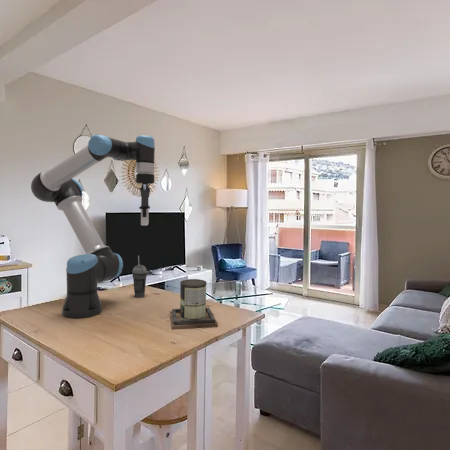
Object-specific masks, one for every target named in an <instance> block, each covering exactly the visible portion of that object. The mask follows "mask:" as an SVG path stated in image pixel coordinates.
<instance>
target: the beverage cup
mask: <svg viewBox="0 0 450 450" xmlns="http://www.w3.org/2000/svg"><path fill="white" fill-rule="evenodd" d="M137 260H138V262H137V263H138V264H137V265H135V266H134V267H133V269H132V272H131V274H132V278H133V291H134V292H133V293H134V297H135V298H144V297H145V293H146V282H147V276H148V270H147V267H146V266H145V265H143V264H140V255H137Z"/></svg>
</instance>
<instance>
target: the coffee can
mask: <svg viewBox="0 0 450 450" xmlns="http://www.w3.org/2000/svg"><path fill="white" fill-rule="evenodd" d="M179 285H180V286H179V287H180V295H179V296H180V297H179V298H180V302H179V303H180V305H179V306H180V307H179V309H180V318H181V319H182V320H201V319H205V318H206V308H207V281H206V280H204V279H199V278H190V279H183V280H181V281H180V282H179Z"/></svg>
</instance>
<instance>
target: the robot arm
mask: <svg viewBox="0 0 450 450" xmlns="http://www.w3.org/2000/svg"><path fill="white" fill-rule="evenodd" d="M155 150H156V148H155V139H154V137H153V136H151V135H137V136H136V138H135V141H128V142H127V141H122V140H119V139H115V138H112V137H109V136H106V135H102V134H101V135H100V134H94V135H92V136H91V137H90V139H89V140H88V143H87V145H86V146H85V147H82V149H80V150H78V151H77V152H75V153H74V154H72V155H71V156H69V157H68V158H65V160H63V161H61V162H60V163H58V164H57V165H55V166H53V167H52V168H50V169H48V170H47V169H45V170H43V171H42V170H41V172H39V173H38V174H36V175H35V176H34V177H33V178H32V181H31V184H30V190H31V192H32V194H33V196H34V197H35V198H36V199H37V200H39V201H42V202H44V203H45V202H46V203H54V204H55V206H56V208H57V209H58V210H59V211H62V212H63V214H64V216H65V217H66V219H67V220H68V223H69V225H70V226H71V228H72V230H73V232H74V234H75V236H76V238H77V240H78V241H79V243H80V245H81V247H82V248H83V250H84V252H85V254H84V253H83V254H78V255H75V256H72V257H70V258H68V260H67V262H66V269H65V271H66V297H65V299H64V303H63V306H62V309H61V310H62V311H61V314H62V316H63V317H65V318H67V319H68V318H70V319H83V318H89V317H93V316H96V315H99V314H100V313H101V312H102V311H103V304H102V302H101V299H100V297H99V294H98V284H99V283H103V282H107V281H112V280H114V279H116V278H118V277H119V276H120V275H121V273H122V272H123V268H124V262H123V258H122V257H121V255H120V254H118V253H116V252H113V251H112V249H111V247H110V246H108V245H105V244H104V242H103V240H102V238H101V237H100V235H99V233H98V232H97V229H96V228H95V226H94V224H93V221H92V220H91V218H90V217H89V215H88V213H87V212H86V210H85V207H84V206H83V204H82V202H83V192H84V190H83V187H82V185H81V183H80V182H79V181H78V180H77V179H75V177H77V176H79V175H80V174H82V173H83V172H85V171H86V170H89V169H90V168H92V167H93V166H95V165H96V164H98V163H100V162H101V161H103V160H105V159H107V158H112V159H113V160H115V161H119V162H120V161H121V162H124V161H135V173H136V174H135V183H136V184H141V187H140V188H139V189H140V190H139V192H140V198H141V199H140V200H141V201H140V206H138V207H139V210H140V226H148V225H149V224H150V223H149V221H150V219H149V218H150V217H149V215H150V214H149V211H150V209H151V206H150V205H149V198H150V193H151V187H149V185H152V184H154V183H155V169H156V168H157V166H156V165H155Z"/></svg>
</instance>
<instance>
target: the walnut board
mask: <svg viewBox="0 0 450 450" xmlns="http://www.w3.org/2000/svg"><path fill="white" fill-rule="evenodd" d="M169 316H170V325H171V330H180V329H181V330H182V329H183V330H185V329H201V328H203V329H204V328H218V327H219V324H218V322H217V319H216V318H215V315H214V314H213V312H212V310H211V308H210V307H206V318H205V319H201V320H182V319H181V318H180V308H172V309H171V311H169Z"/></svg>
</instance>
